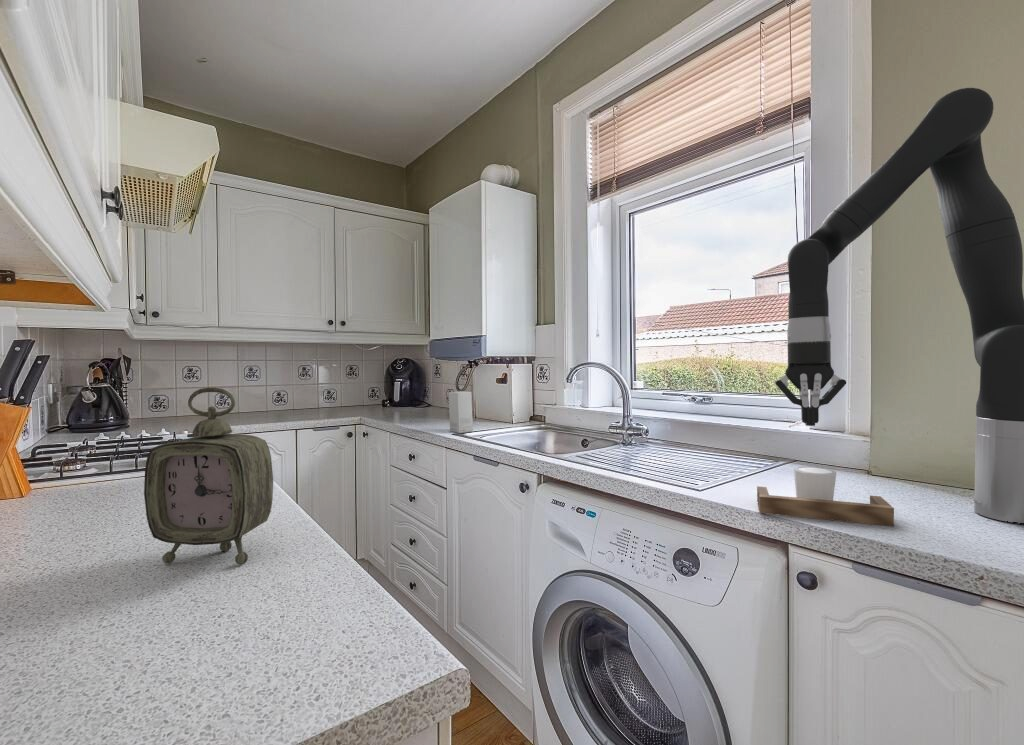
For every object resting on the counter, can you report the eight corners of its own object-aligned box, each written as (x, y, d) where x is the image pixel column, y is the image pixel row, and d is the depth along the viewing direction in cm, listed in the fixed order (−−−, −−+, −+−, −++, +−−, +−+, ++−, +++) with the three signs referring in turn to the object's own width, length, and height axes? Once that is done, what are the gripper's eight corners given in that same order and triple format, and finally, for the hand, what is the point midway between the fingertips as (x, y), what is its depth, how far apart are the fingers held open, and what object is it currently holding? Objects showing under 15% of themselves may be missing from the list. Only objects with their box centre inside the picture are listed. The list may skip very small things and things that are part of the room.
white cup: (843, 512, 90) (844, 474, 90) (803, 512, 91) (804, 474, 91) (824, 501, 97) (824, 466, 97) (787, 500, 98) (787, 465, 97)
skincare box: (473, 432, 192) (472, 391, 191) (457, 433, 188) (457, 392, 188) (463, 429, 199) (463, 390, 198) (448, 431, 196) (447, 391, 195)
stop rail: (880, 512, 90) (880, 496, 90) (893, 526, 83) (894, 508, 83) (757, 501, 98) (757, 486, 97) (759, 512, 91) (759, 496, 90)
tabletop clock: (146, 569, 69) (140, 390, 69) (191, 544, 78) (186, 386, 78) (247, 570, 69) (242, 389, 68) (281, 545, 78) (277, 385, 77)
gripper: (842, 339, 102) (843, 423, 102) (770, 342, 107) (771, 422, 108) (851, 338, 95) (852, 428, 96) (773, 341, 100) (775, 427, 101)
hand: (809, 425), depth 102 cm, fingers closed
